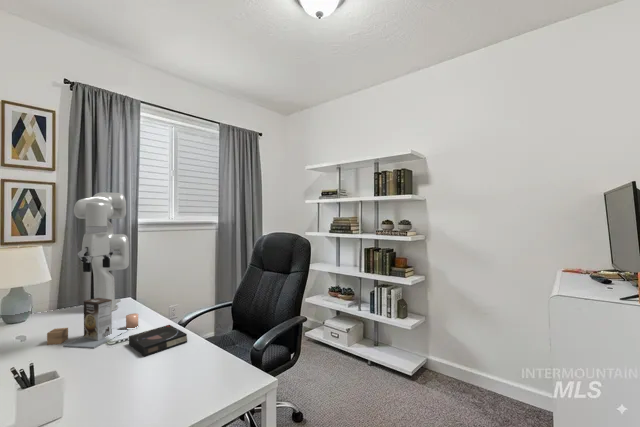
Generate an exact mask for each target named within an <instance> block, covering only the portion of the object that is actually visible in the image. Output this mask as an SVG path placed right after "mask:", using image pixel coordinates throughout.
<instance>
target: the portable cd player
mask: <svg viewBox="0 0 640 427" xmlns="http://www.w3.org/2000/svg"><path fill="white" fill-rule="evenodd" d="M186 343H188V336H187V333H186V332H184V331H182V330H181V329H179V328H177V327H175V326H173V325H171V324H166V325H163V326H160V327H156V328H153V329H149V330H145V331H142V332H138V333H136V334H131V335H129V336H128V345H129V346H130V347H131V348H132V349H134V350H135V351H136V352H138V353H139V354H140V355H141V356H142V357H147V356H150V355H154V354H157V353H161V352H163V351H165V350H169V349H171V348H174V347H177V346H180V345H183V344H186Z"/></svg>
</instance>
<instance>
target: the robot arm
mask: <svg viewBox="0 0 640 427" xmlns="http://www.w3.org/2000/svg"><path fill="white" fill-rule="evenodd" d="M126 200H127V199H126V198H125V195H124V194H123V193H121V192H103V191H101V192H97V193H95V194H94V195H93V196H91V197H87V198H80V199H79V200H77V201H76V202H75V205H74V207H73V214H74V216H75V217H76V218H77V219H80V220H81V219H83V220H85V233H84V234H83V238H82V243H81V244H82V245H81V250H80V251H78V252H77V256H78V259H79V260H80V262H81V263H82V271H83V272H84V273H90V272H92V273H93V299H95V298H104V299H111V300H112V312H114V311H117V309H118V308H119V305H117V304H118V303H121V298H117V299H116V298H115V296H116V294H115V291H116V290H115V286H116V284H115V277H114V275H113V274H112V273H111V272H110V271H118V270H119V271H120V270H126V269H128V267H129V265H130V242H129V237H128V236H127V235H126V234H122V233H119V234H116V233H115V234H114V224H112V222H110V220H121V219H124V218H126V216H127V201H126ZM114 252H115V253H114ZM116 252H118V253H116Z"/></svg>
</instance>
